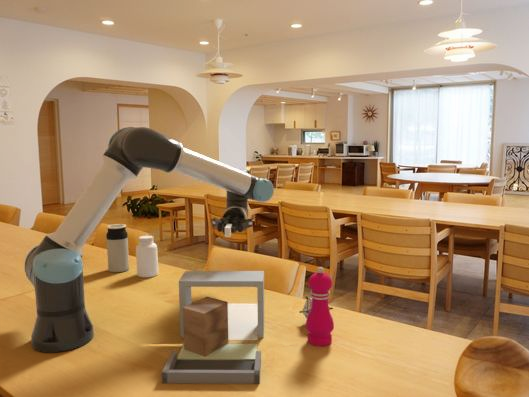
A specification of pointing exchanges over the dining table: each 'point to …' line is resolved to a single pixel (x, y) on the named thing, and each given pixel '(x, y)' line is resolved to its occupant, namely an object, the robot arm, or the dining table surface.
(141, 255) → the pill bottle
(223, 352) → the pad
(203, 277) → the tunnel
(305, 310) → the game die
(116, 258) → the travel mug
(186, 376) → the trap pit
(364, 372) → the dining table surface
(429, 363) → the dining table surface
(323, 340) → the pepper mill
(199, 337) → the walnut block
